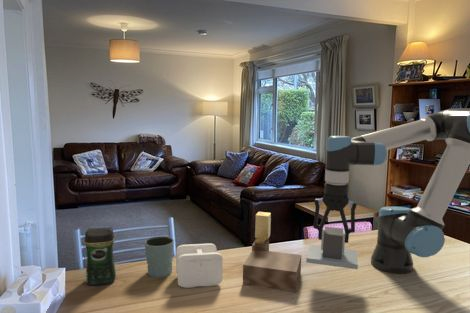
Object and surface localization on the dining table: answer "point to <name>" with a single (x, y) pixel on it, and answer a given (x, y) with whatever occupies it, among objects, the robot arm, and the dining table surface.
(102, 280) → the coffee jar
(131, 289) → the dining table surface
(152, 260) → the teal cup
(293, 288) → the walnut box
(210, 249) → the white rounded double-panel block
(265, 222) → the pale yellow upright block
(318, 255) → the cover
